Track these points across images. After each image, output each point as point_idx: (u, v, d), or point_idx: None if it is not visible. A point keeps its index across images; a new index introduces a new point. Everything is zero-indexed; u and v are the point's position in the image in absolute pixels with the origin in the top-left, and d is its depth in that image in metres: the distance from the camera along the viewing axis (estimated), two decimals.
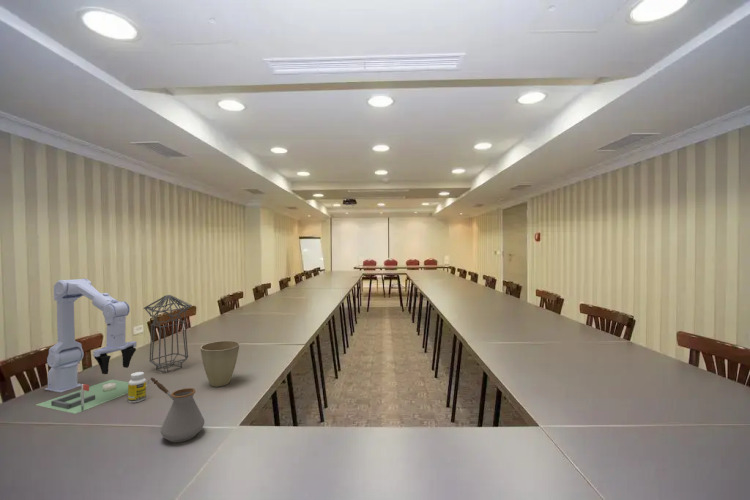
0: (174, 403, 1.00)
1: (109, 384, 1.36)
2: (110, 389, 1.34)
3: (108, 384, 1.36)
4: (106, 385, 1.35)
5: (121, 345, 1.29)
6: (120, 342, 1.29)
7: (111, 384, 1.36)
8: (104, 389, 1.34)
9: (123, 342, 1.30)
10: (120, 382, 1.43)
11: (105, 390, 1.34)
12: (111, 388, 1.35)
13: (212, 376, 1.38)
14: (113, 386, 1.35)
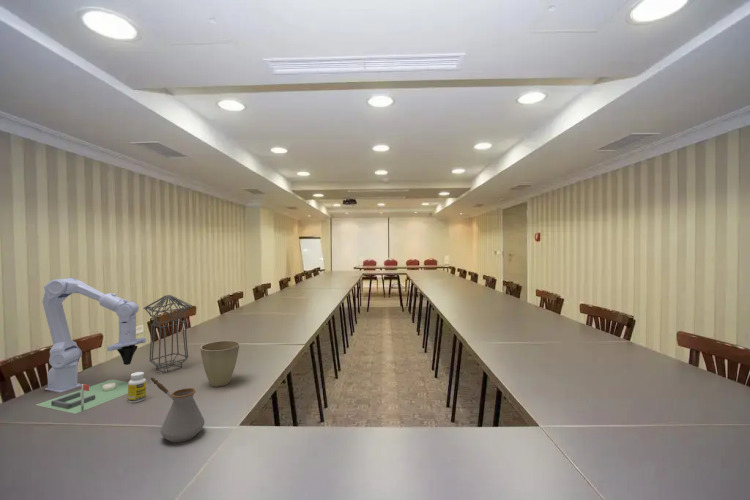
0: (174, 403, 1.00)
1: (109, 384, 1.36)
2: (110, 389, 1.34)
3: (108, 384, 1.36)
4: (106, 385, 1.35)
5: (132, 341, 1.42)
6: (131, 338, 1.41)
7: (111, 384, 1.36)
8: (104, 389, 1.34)
9: (134, 338, 1.43)
10: (120, 382, 1.43)
11: (105, 390, 1.34)
12: (111, 388, 1.35)
13: (212, 376, 1.38)
14: (113, 386, 1.35)
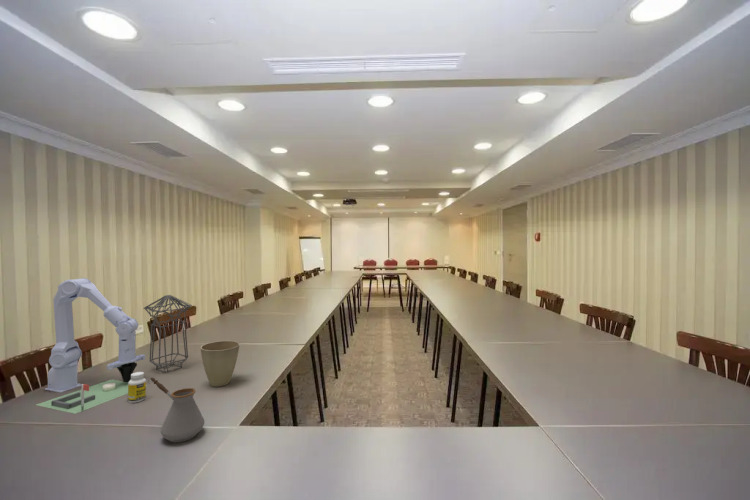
0: (174, 403, 1.00)
1: (109, 384, 1.36)
2: (109, 389, 1.34)
3: (108, 384, 1.36)
4: (106, 385, 1.35)
5: (132, 358, 1.42)
6: (131, 356, 1.41)
7: (111, 384, 1.36)
8: (104, 389, 1.34)
9: (133, 356, 1.42)
10: (120, 382, 1.43)
11: (105, 390, 1.34)
12: (110, 388, 1.34)
13: (212, 376, 1.38)
14: (112, 386, 1.35)
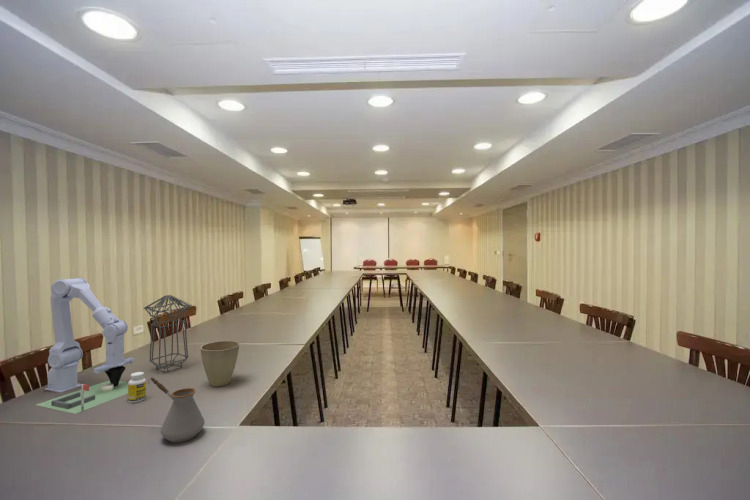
0: (174, 403, 1.00)
1: (107, 385, 1.35)
2: (107, 390, 1.33)
3: (106, 385, 1.35)
4: (104, 386, 1.34)
5: (120, 362, 1.37)
6: (119, 359, 1.37)
7: (109, 385, 1.35)
8: (101, 390, 1.33)
9: (122, 359, 1.38)
10: (120, 382, 1.43)
11: (102, 391, 1.33)
12: (108, 389, 1.34)
13: (212, 376, 1.38)
14: (110, 387, 1.34)
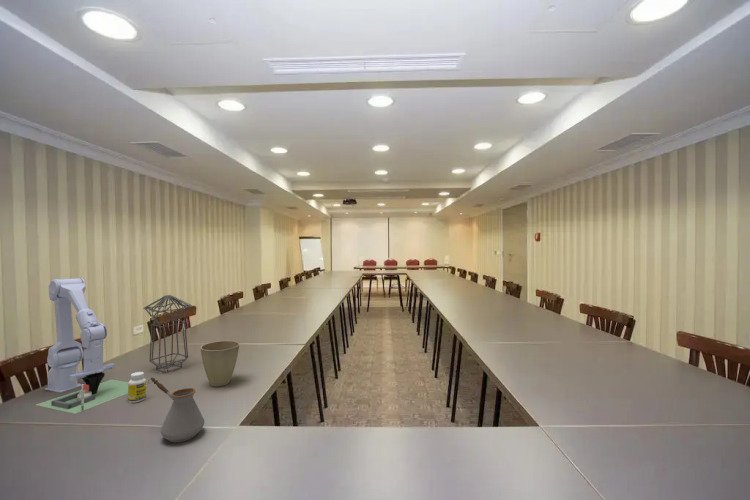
0: (174, 403, 1.00)
1: (84, 393, 1.27)
2: None
3: None
4: None
5: (98, 368, 1.29)
6: (97, 365, 1.29)
7: (86, 393, 1.27)
8: (78, 398, 1.25)
9: (100, 365, 1.30)
10: (120, 382, 1.43)
11: (79, 399, 1.25)
12: None
13: (212, 376, 1.38)
14: (88, 395, 1.27)
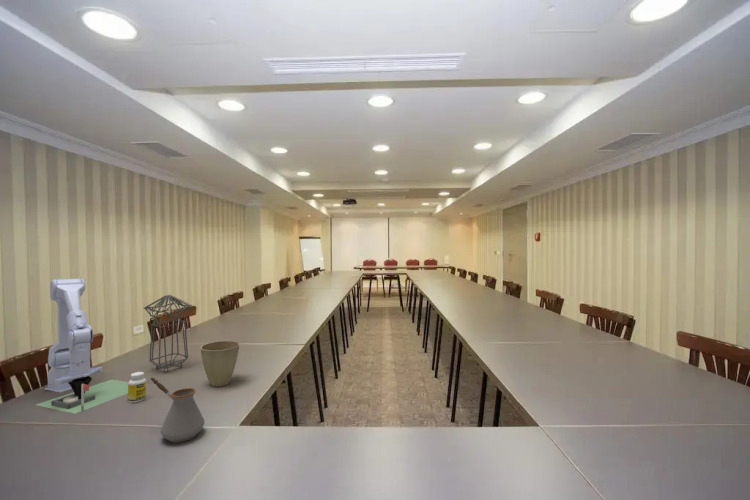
0: (174, 403, 1.00)
1: (71, 398, 1.23)
2: None
3: (69, 398, 1.23)
4: (67, 399, 1.22)
5: (85, 372, 1.25)
6: (84, 369, 1.25)
7: (73, 398, 1.23)
8: None
9: (87, 369, 1.26)
10: (120, 382, 1.43)
11: None
12: None
13: (212, 376, 1.38)
14: (75, 400, 1.23)
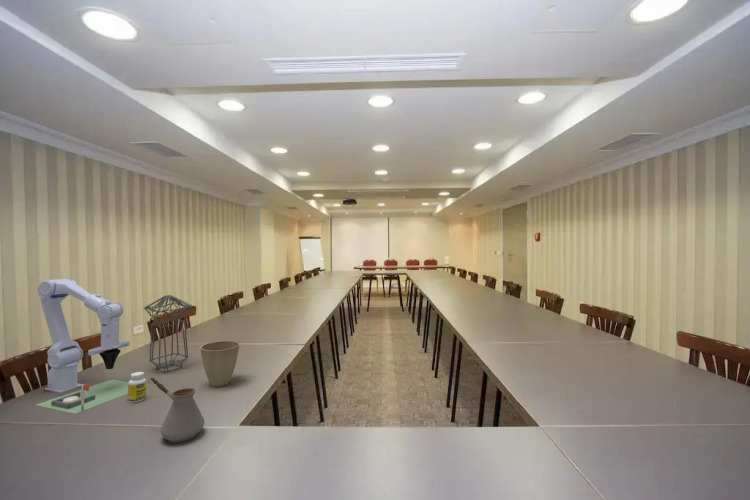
0: (174, 403, 1.00)
1: (70, 398, 1.23)
2: None
3: (69, 398, 1.23)
4: (67, 399, 1.22)
5: (115, 344, 1.35)
6: (114, 342, 1.35)
7: (73, 398, 1.23)
8: None
9: (117, 342, 1.36)
10: (120, 382, 1.43)
11: None
12: None
13: (212, 376, 1.38)
14: (75, 400, 1.22)
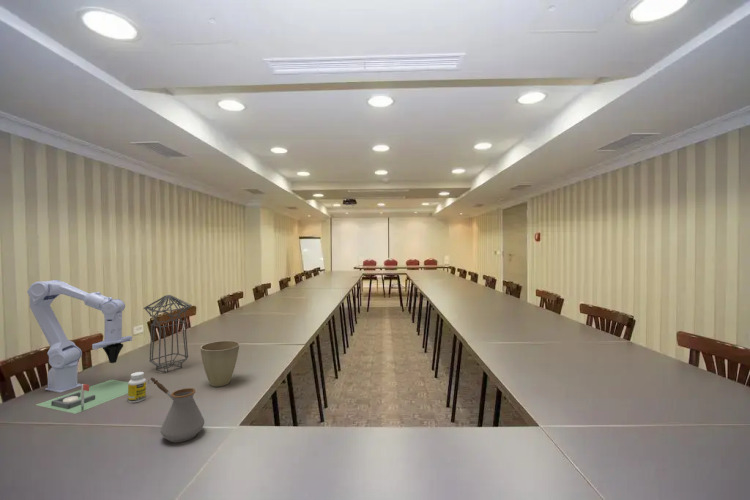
0: (174, 403, 1.00)
1: (70, 398, 1.23)
2: None
3: (69, 398, 1.23)
4: (67, 399, 1.22)
5: (118, 339, 1.40)
6: (117, 336, 1.40)
7: (73, 398, 1.23)
8: None
9: (120, 336, 1.41)
10: (120, 382, 1.43)
11: None
12: None
13: (212, 376, 1.38)
14: (75, 400, 1.22)
